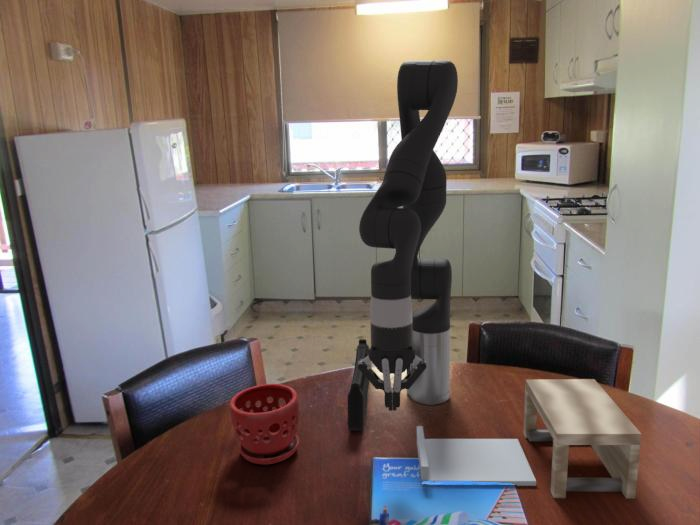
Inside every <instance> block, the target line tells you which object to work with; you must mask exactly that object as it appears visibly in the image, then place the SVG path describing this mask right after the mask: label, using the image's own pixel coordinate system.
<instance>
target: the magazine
mask: <svg viewBox="0 0 700 525" xmlns="http://www.w3.org/2000/svg"><path fill="white" fill-rule="evenodd" d="M369 350H370V347H369V344H367V339H364V338H360V339H359V340H358V345H357V347H356V352H355V362H354V370H353V374H352V375H353V376H352V380H351V384H350V388H349V392H348V394H347V430H348V431H353V432H354V431H355V432H359V431H363V430H364V423H365V419H366V418H365V417H366V413H367V404H368V397H369V387H370V386H369V385H370V381H369V380H368V379H367V378H366V377H365V376H364V374H363V373H362V372H361V371H360V370H359V369H358V361H359V360H360V359H364V358H365V357H367V356H368V353H369Z"/></svg>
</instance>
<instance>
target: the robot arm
mask: <svg viewBox="0 0 700 525" xmlns="http://www.w3.org/2000/svg"><path fill="white" fill-rule="evenodd" d="M458 76H459V75H458V71H457V67H456V64H454V63H453V62H452V61H450V60H444V59H435V60H433V59H431V60H429V59H427V60H422V59H421V60H419V59H418V60H406V61H403V62H402V63H401V64H400V67H399V68H398V72H397V78H396V84H397V85H396V90H397V91H396V92H397V93H396V94H397V104H398V105H397V106H398V116H399V127H400V137H401V140H400V141H399V143H397V145H396V146H395V147H394V149H393V150H392V152H391V154H390V156H389V159H388V163H387V166H386V169H385V171H384V172H385V173H384V176H383V179H382V182H381V184H380V186H379V187H378V189H377V190H376V191H375V194H374V195H373V197H372V198H371V199H370V201H369V203H368V204H367V206H366V207H365V209H364V211H363V212H362V214H361V217H360V219H359V220H360V221H359V225H358V226H359V227H358V229H359V236H360V239H361V241H362V242H363V244H365V245H366V246H368V247H370V248H377V249H390V250H391V249H393V250H394V249H395V254H394V256H393V258H390V259H385V260H380V261H379V260H378V261H376V262H375V263H373V264H372V266H371V269H370V294H371V296H370V305H369V307H370V308H369V312H370V313H369V317H370V347H369V349H370V350H369V353H368V356H367V357H365V358H364V359H360V360H359V361H358V369H359V370H360V371H361V372H362V373H363V374H364V376H365V377H366V378H367V379H368V380H369V384H371V385H372V386H373V387H374V388H375V390H382V391H383V392H384V406H385V408H387V409H388V411H389V412H390V411H393V412H395V411H397V408H400V406H401V391H403V390H406V394H407V395H409V396H410V399H412V400H413V401H414V402H417V403H419V404H422V405H433V406H434V405H440V404H444V403H446V402H447V401H448V400H449V399H450V389H451V387H450V382H451V381H450V380H451V377H450V376H451V374H450V372H451V371H450V370H451V369H450V368H451V297H452V296H451V294H452V283H453V273H452V272H453V270H452V264H451V262H450V260H448V259H447V258H440V257H439V258H437V257H436V258H433V257H431V258H429V257H428V258H427V257H425V258H424V257H423V258H419V257H418V255H419V252H420V250H421V248H422V247H421V246H422V244H423V242H424V240H425V238H426V237H427V235H428V234H429V233H430V231H431V230H432V228H433V227H434V225H435V224H436V223H437V222H438V220H439V218H440V216H441V215H442V213H443V212H444V209H445V207H446V205H447V172H446V169H445V166H444V165H443V163H442V162H441V159H440V157H438V156H439V155H437V153H436V152H435V150H434V148H435V146H436V144H437V142H438V140H439V138H440V135H441V133H442V131H443V129H444V127H445V125H446V122H447V121H448V119H449V116H450V114H451V111H452V108H453V106H454V104H455V101H456V97H457V92H458V86H459V85H458V84H459V78H458ZM420 111H427V112H426V114H425V115H424V116H423V118H422V119H421V117H420ZM412 300H435V301H434V302H433V303H432V304H431V305H428V306H427V307H424V308H421V309H418V310H416V311H414V312H413V303H412V302H413V301H412ZM371 362H372V363H371ZM372 364H373V365H374V366H375V367H376V369H377V370H378V371H379V372H380V373H381V374H382V377H383V379H382V378H380V377H379V376H378V374H377V373H376V372H375V371H374V370H373V366H372ZM404 372H406V375H405V376H404V378H403V379H402V376H403V373H404ZM391 374H393V384H392V383H391ZM392 386H393V387H392Z"/></svg>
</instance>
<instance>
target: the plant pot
mask: <svg viewBox="0 0 700 525" xmlns="http://www.w3.org/2000/svg"><path fill="white" fill-rule="evenodd" d="M268 398H272V401H269V400H268ZM298 398H299V397H298V394H297V391H296V390H295V389H294V387H291V386H289V385H286V384H280V383H264V384H258V385H255V386H251V387H248V388H246V389H243V390H241V391H239V392H238V393H236V394H235V395H234V396H233V397H232V398H231V400H230V402H229V410H230V417H231V422H232V426H233V429H234V434H235V436H236V437H237V438H236V439H237V440H238V441H239V443H240V445H239V452H240V454H241V456H242V458H244V459H245V460H247V462H250V463H252V464H257V465H265V466H268V465H272V464H277V463H280V462H283V461H285V460H286V459H289V458H290V457H291V456H293V454H294V453H295V452H296V450H298V447H299V445H300V439H299V436H298V435H297V432H298V431H297V430H298V426H299V415H300V414H299V413H300V410H299V399H298ZM280 399H282V400H284V402H285V405H284V406H282V405H281V404H280V403H279V400H280ZM258 401H259V402H260V405H258V406H257V405H256V403H257V402H258ZM247 402H250V403H249V405H247ZM265 407H266V408H267V409H266V410H265V409H264V408H265ZM273 408H276V409H274V410H273ZM240 409H242V410H240ZM251 411H252V412H251Z"/></svg>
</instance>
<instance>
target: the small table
mask: <svg viewBox="0 0 700 525" xmlns="http://www.w3.org/2000/svg"><path fill="white" fill-rule="evenodd" d="M523 411H524V413H523V432H522V433H523V436H524V438H525V439H528V441H529V442H552V459H551V476H550V479H551V480H550V493H551V495H552V498H553V499H566V498H567V492H615V493H616V492H621V493H622V495H623V496H624V497H625V499H628V500H629V499H633V500H634V499H636V496H637V485H638V474H639V466H640V453H641V445H642V444H641V443H642V433H641V432H640V430H639V429H638V428H637V427H636V426H635V425H634V424H633V422H632V421H631V420H630V419H629V417H628V416H627V415H626V414H625V413H624V412H623V411H622V410H621V408H620V407H619V405H617V403H616V402H615V401H614V400H613V399H612V398H611V396H609V394H608V393H607V392H606V390H604V388H603V387H602V386H601V385H600V383H598V382H597V380H596V379H595V378H581V379H580V378H579V379H578V378H571V379H569V378H567V379H561V378H559V379H557V378H556V379H555V378H554V379H549V378H548V379H547V378H546V379H541V378H540V379H539V378H538V379H525V386H524V408H523ZM537 413H538V414H539V416H540V418H541V419H542V421H543V423H544V425H545V427H546V429H537ZM570 446H590V447H591V448H592V449H593V451H594V453H595V454H596V455H597V457H598V458H599V459H600V460H599V461H601V463H602V464H603V466H604V467H605V469H606V471H607V472H608V474H609V476H611V477H568V467H569V466H568V465H569V464H568V463H569V452H570Z"/></svg>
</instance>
